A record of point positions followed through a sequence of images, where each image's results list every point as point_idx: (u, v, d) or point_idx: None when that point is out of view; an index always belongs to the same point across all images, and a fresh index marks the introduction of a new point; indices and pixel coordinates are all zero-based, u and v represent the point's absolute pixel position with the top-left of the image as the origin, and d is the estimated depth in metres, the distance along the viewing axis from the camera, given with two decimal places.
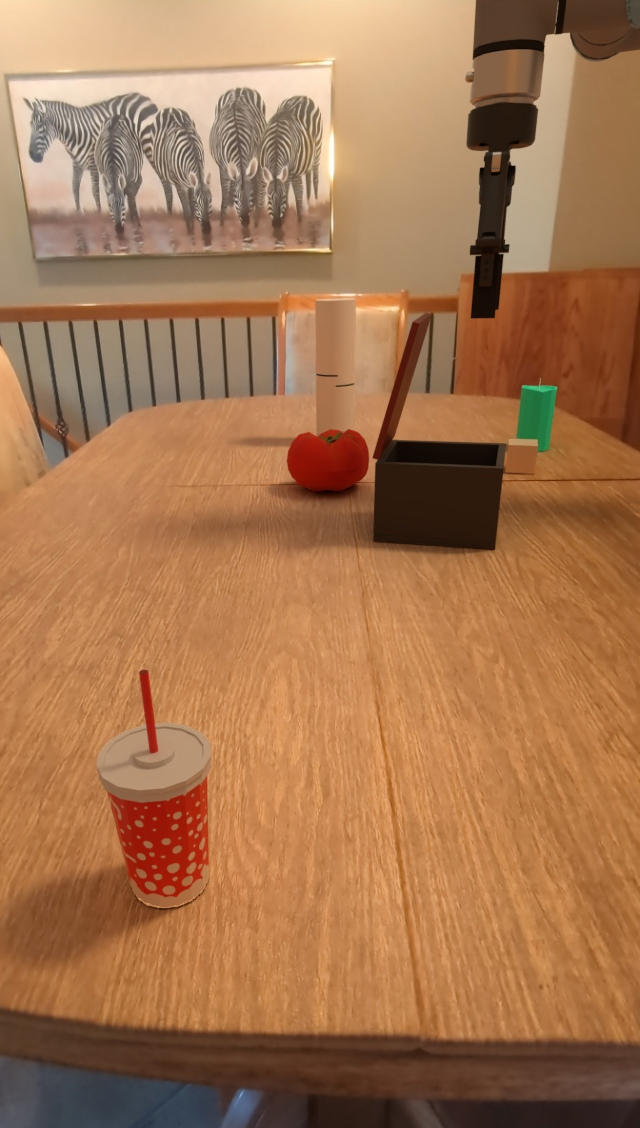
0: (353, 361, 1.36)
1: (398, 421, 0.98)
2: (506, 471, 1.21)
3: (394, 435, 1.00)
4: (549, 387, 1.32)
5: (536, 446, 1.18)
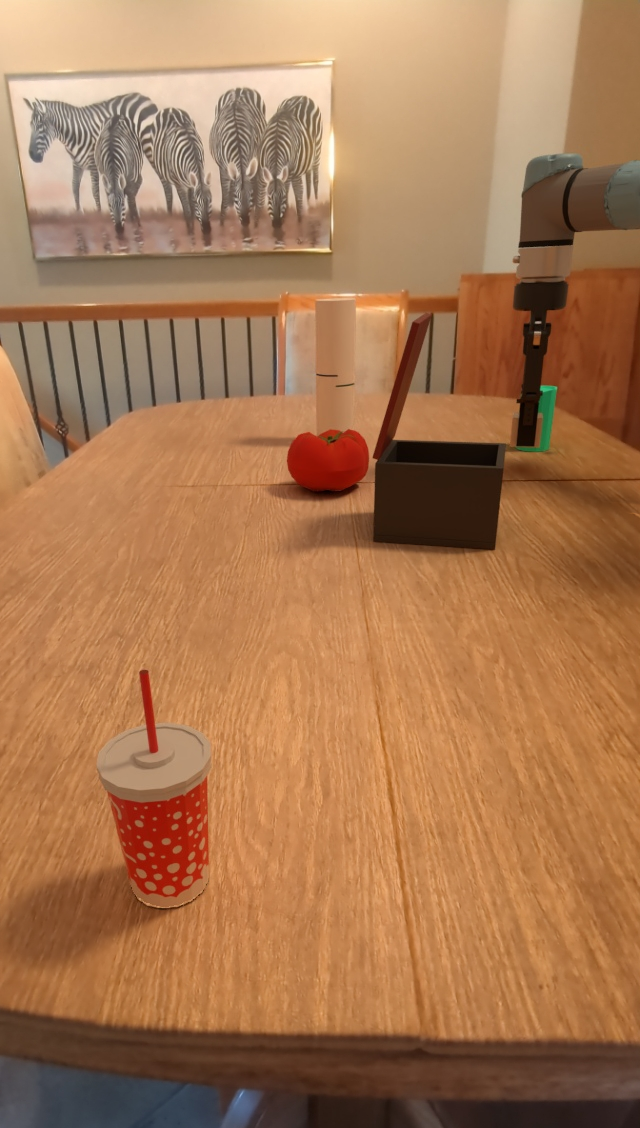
0: (353, 361, 1.36)
1: (398, 421, 0.98)
2: (511, 445, 1.19)
3: (394, 435, 1.00)
4: (549, 387, 1.32)
5: (541, 418, 1.16)
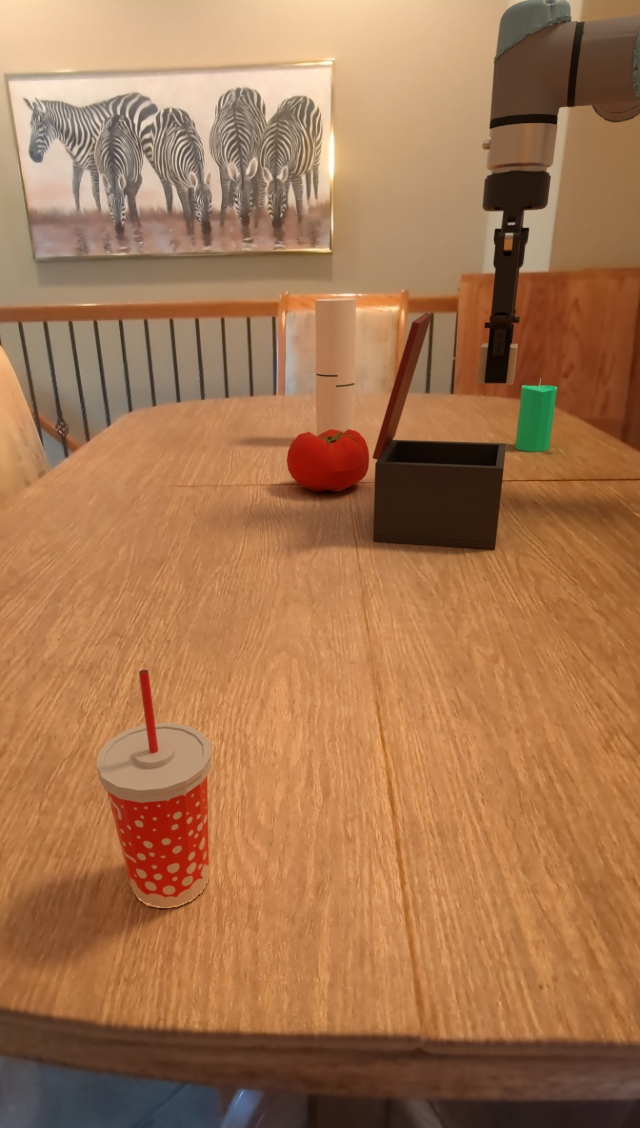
0: (353, 361, 1.36)
1: (398, 421, 0.98)
2: (478, 382, 0.98)
3: (394, 435, 1.00)
4: (549, 387, 1.32)
5: (515, 348, 0.95)
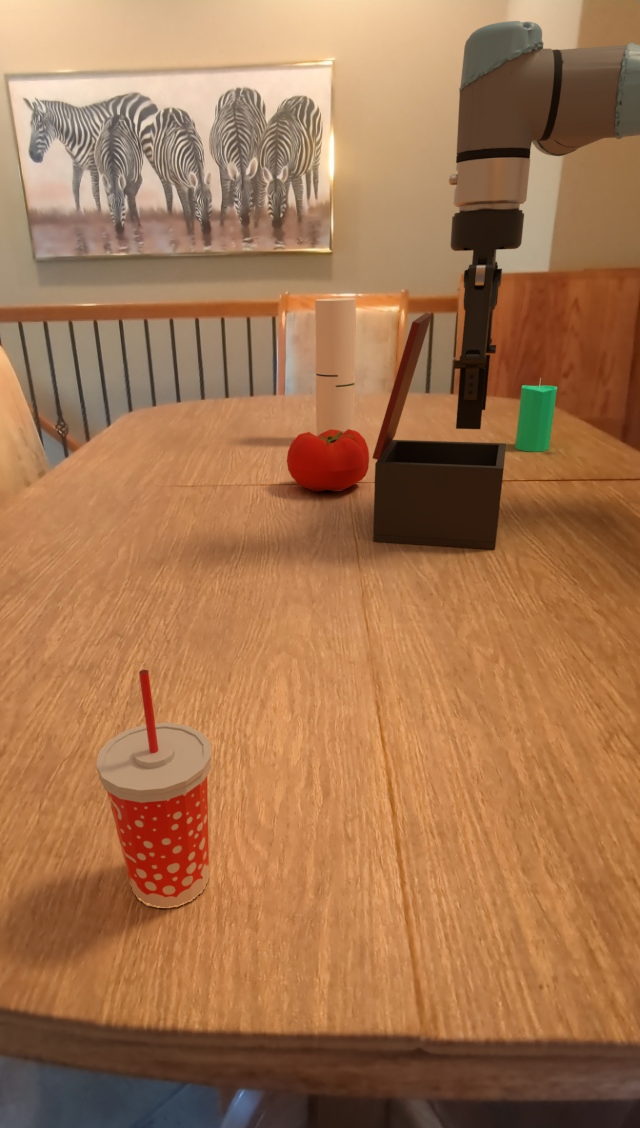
0: (353, 361, 1.36)
1: (398, 421, 0.98)
2: None
3: (394, 435, 1.00)
4: (549, 387, 1.32)
5: None
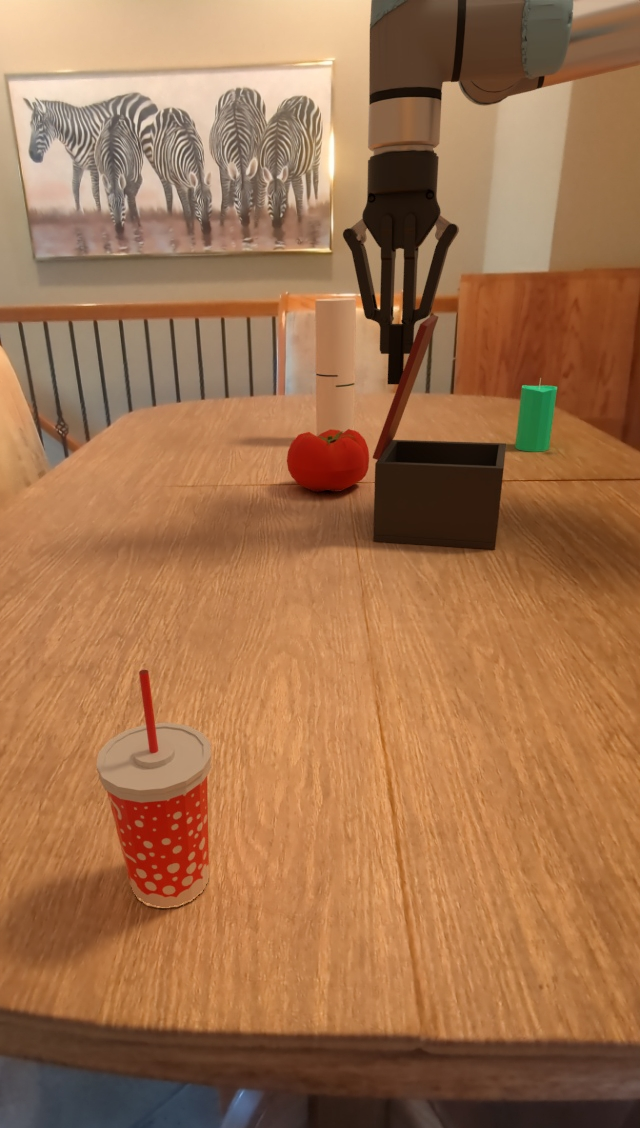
0: (353, 361, 1.36)
1: (399, 421, 0.98)
2: None
3: (394, 435, 1.00)
4: (549, 387, 1.32)
5: None
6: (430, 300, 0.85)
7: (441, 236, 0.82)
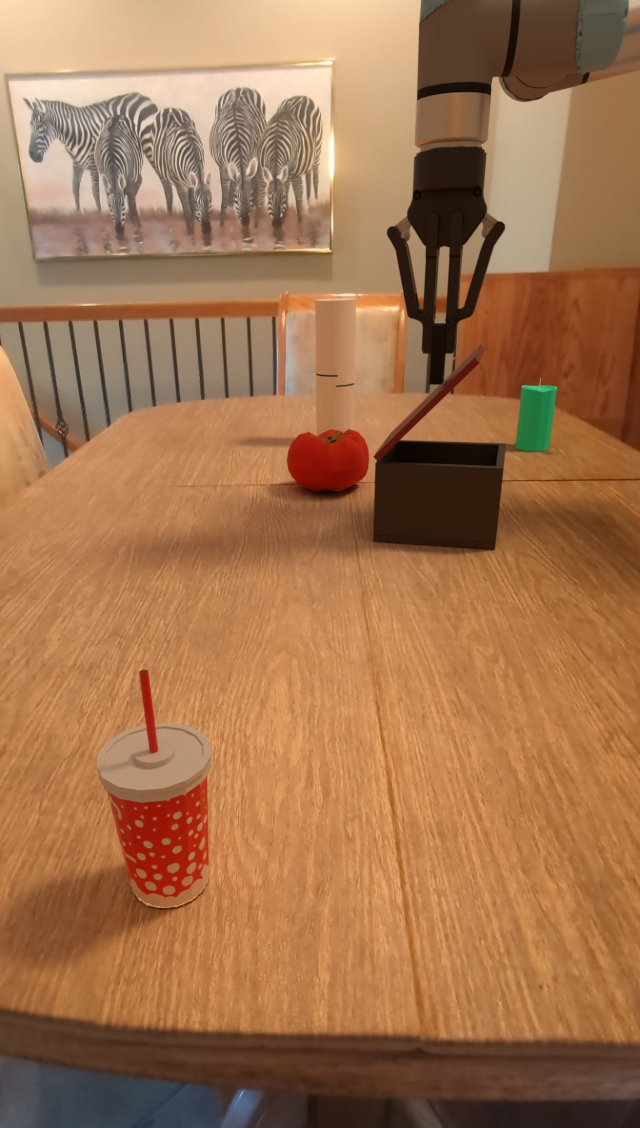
0: (353, 361, 1.36)
1: None
2: None
3: None
4: (549, 387, 1.32)
5: None
6: (475, 299, 0.84)
7: (488, 233, 0.81)
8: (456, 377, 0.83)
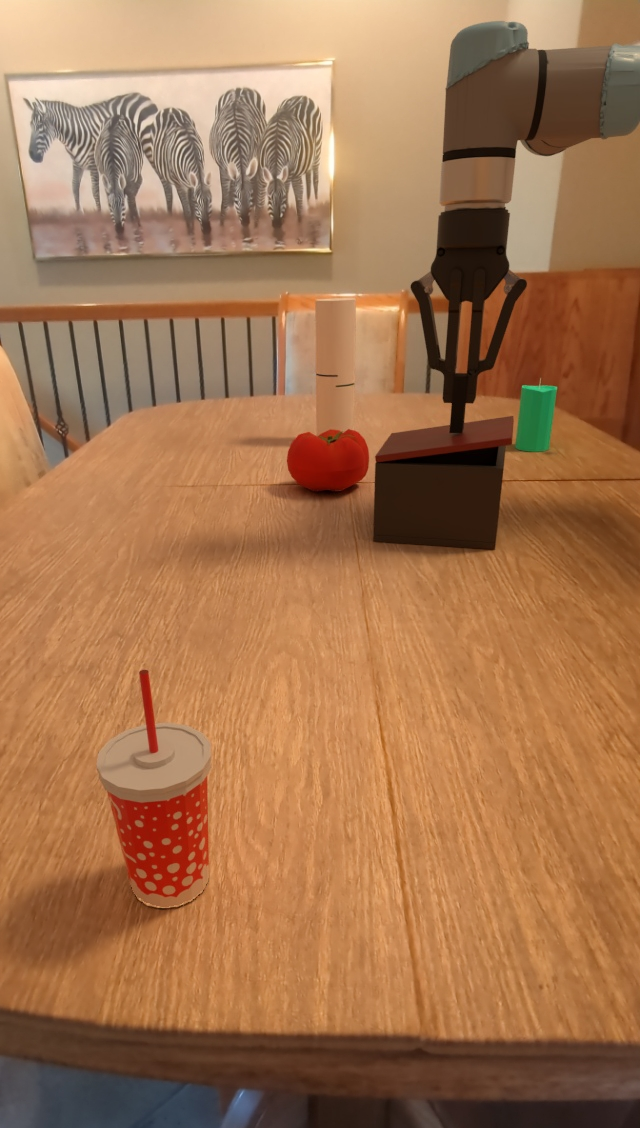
0: (353, 361, 1.36)
1: None
2: None
3: None
4: (549, 387, 1.32)
5: None
6: (496, 352, 0.86)
7: (510, 290, 0.83)
8: (486, 442, 0.85)
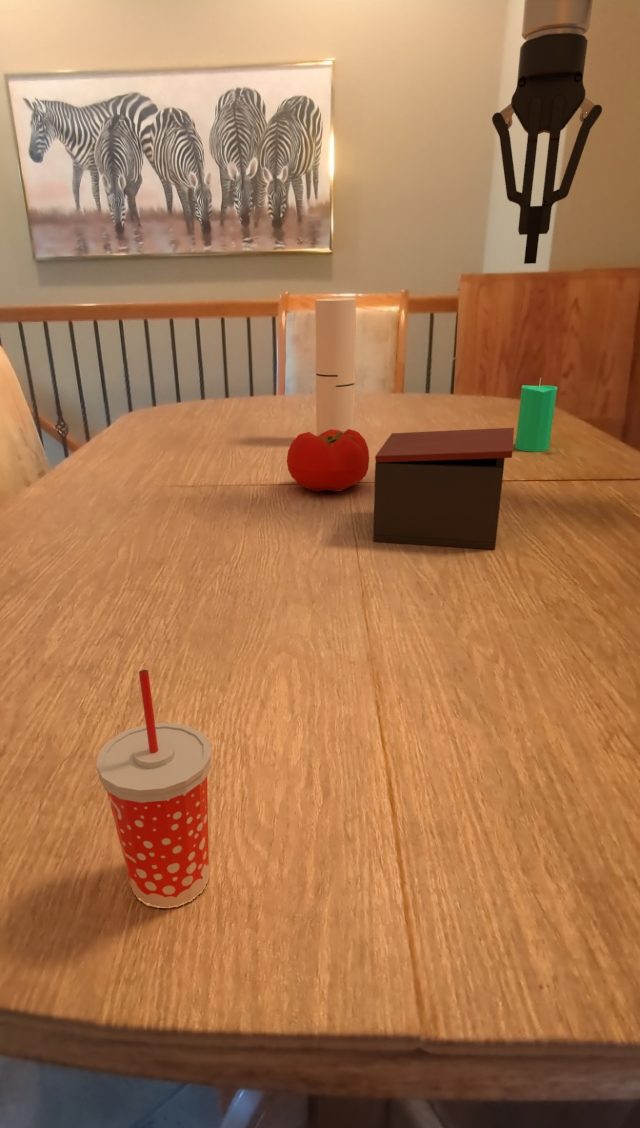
0: (353, 361, 1.36)
1: None
2: None
3: None
4: (549, 387, 1.32)
5: None
6: (571, 180, 0.93)
7: (586, 117, 0.90)
8: (487, 453, 0.86)
